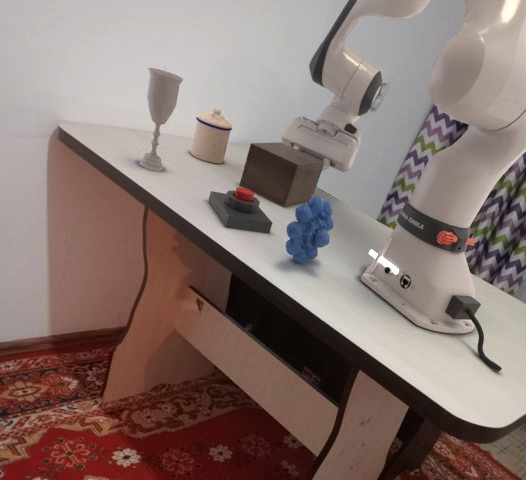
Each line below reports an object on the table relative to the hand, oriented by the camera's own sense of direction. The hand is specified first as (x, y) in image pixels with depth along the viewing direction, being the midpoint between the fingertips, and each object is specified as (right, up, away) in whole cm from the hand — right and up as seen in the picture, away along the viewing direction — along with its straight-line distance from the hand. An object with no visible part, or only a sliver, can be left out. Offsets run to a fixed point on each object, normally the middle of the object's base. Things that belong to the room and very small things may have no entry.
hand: (303, 168), depth 118 cm
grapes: (-4, -32, -38) cm, 49 cm away
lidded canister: (-26, +4, +2) cm, 26 cm away
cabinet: (-7, -8, -6) cm, 12 cm away
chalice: (-35, -7, -18) cm, 40 cm away
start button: (-14, -18, -30) cm, 37 cm away
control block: (-15, -21, -28) cm, 38 cm away
